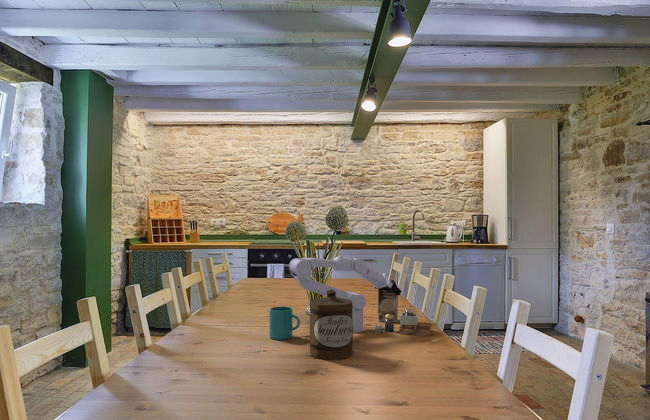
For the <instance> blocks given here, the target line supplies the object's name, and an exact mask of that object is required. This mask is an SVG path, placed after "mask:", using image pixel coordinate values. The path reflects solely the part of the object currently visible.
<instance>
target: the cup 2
mask: <svg viewBox="0 0 650 420" xmlns="http://www.w3.org/2000/svg"><path fill="white" fill-rule="evenodd" d="M418 316H419V315H418V313H417V312H416V313H415V312H413V316H405V312H401V313H400V316H399V317H400V321H399V322H400V324H411V325H419V322H418V321H419V320H418V319H419V317H418Z"/></svg>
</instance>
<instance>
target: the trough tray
mask: <svg viewBox="0 0 650 420" xmlns="http://www.w3.org/2000/svg"><path fill="white" fill-rule="evenodd" d="M398 334H399V335H403V336H405V335H406V336H420V337H421V336H422V337H432V325H427V324H418V325H411V324H400V325H399V332H398Z"/></svg>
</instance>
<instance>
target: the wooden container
mask: <svg viewBox="0 0 650 420" xmlns="http://www.w3.org/2000/svg"><path fill="white" fill-rule="evenodd" d="M326 294H327V295H328V296H325V297H319V298H315V299H314V298H313V299H311V300H310V302H309V303H310V306H309V307H310V309H309V310H310V315H309V316H310V317H309V318H310V319H309V320H310V322H309V323H310V324H309V325H310V326H309V354H310V356H311V357H314V358H315V359H316V358H317V359H320V360H327V361H329V360H331V361H333V360H335V361H336V360H337V361H338V360H343V359H344V360H345V359H348V358H349V357H351V356H352V355H353V352H354V351H353V350H354V349H353V348H354V347H353V345H354V344H353V343H354V336H353V335H354V333H353V322H352V301H351V300H349V299H344V298H337V297H336V296H335V295H336V291H334V290H329V291H327V292H326Z"/></svg>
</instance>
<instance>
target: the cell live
mask: <svg viewBox="0 0 650 420" xmlns="http://www.w3.org/2000/svg"><path fill="white" fill-rule="evenodd" d="M394 329H395V322H394V315H391V314H387V315H385V322H384V330H385V332H386V333H395V332H394Z"/></svg>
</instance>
